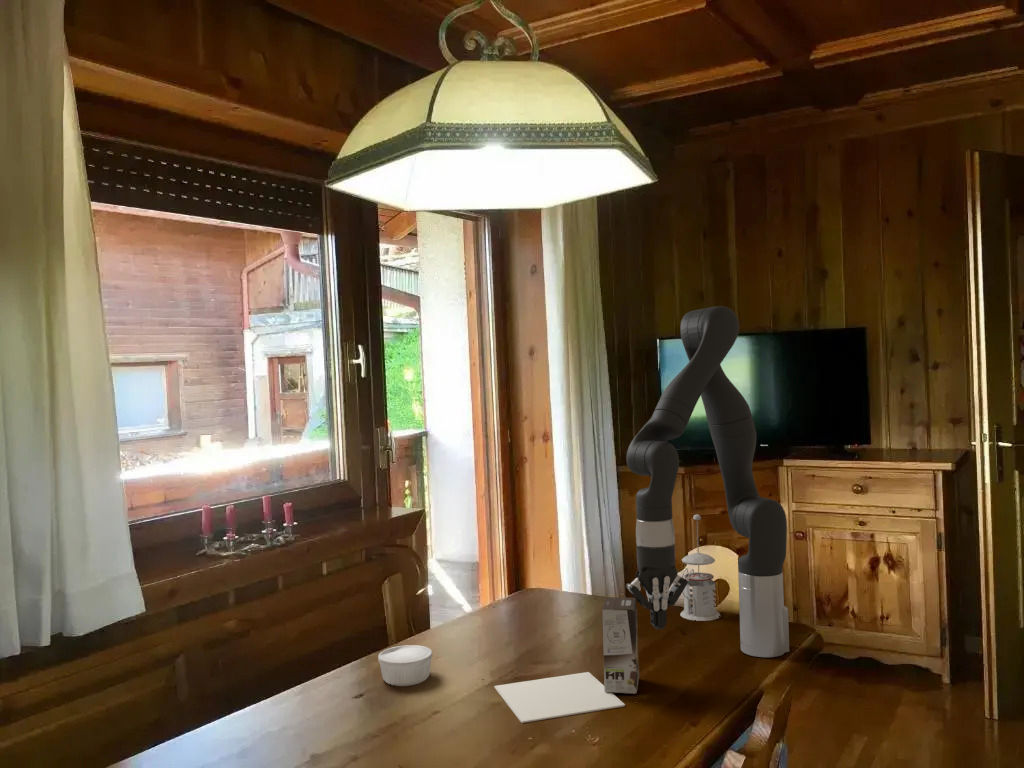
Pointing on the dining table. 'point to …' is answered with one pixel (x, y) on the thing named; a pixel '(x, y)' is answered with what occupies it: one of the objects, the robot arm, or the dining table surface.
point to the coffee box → (620, 645)
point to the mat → (557, 697)
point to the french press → (699, 588)
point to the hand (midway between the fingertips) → (658, 627)
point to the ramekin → (405, 664)
